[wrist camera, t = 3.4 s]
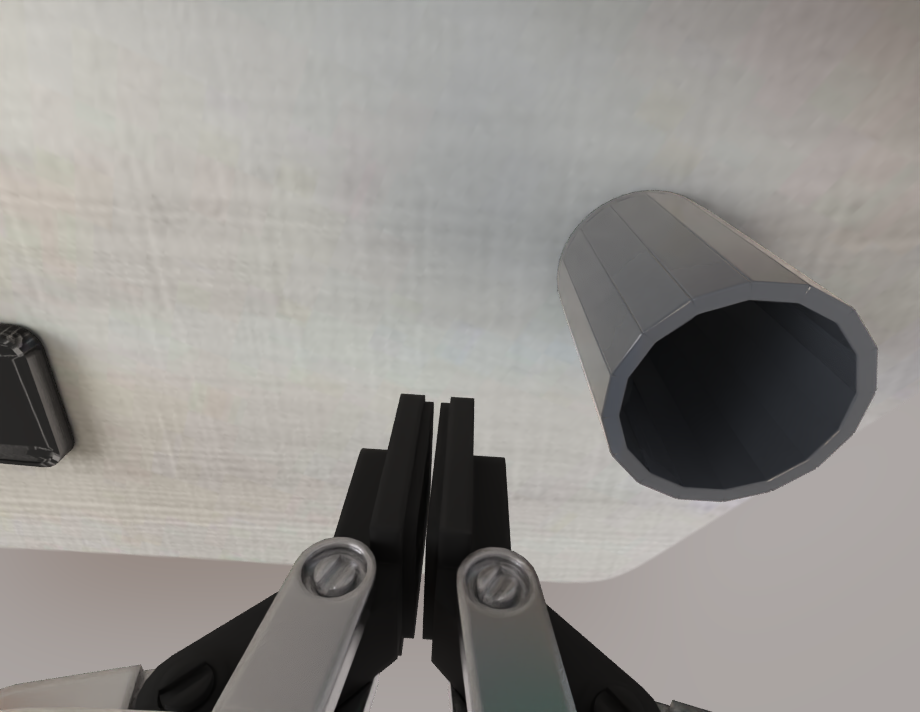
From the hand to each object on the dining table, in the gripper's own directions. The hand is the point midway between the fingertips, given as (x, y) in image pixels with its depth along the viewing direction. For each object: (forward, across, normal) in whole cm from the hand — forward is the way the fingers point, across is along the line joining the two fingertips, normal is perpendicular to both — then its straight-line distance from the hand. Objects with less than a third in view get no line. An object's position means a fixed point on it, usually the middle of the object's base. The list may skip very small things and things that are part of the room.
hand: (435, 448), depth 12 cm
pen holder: (+12, -8, 0) cm, 15 cm away
